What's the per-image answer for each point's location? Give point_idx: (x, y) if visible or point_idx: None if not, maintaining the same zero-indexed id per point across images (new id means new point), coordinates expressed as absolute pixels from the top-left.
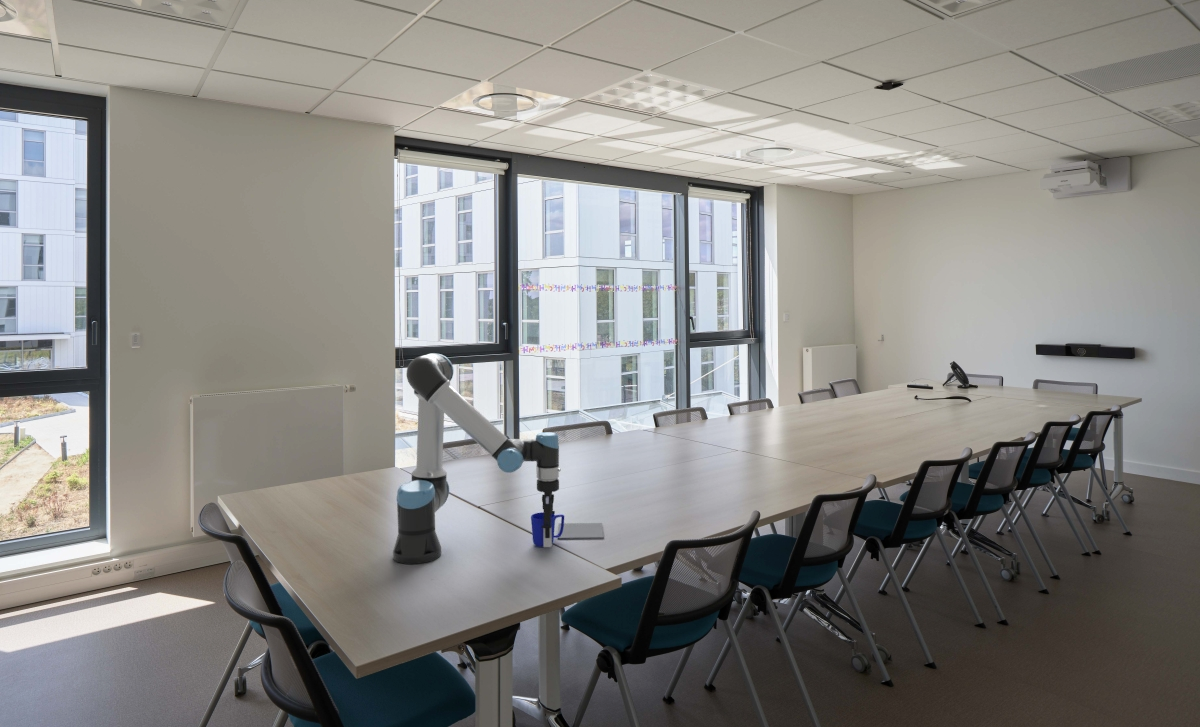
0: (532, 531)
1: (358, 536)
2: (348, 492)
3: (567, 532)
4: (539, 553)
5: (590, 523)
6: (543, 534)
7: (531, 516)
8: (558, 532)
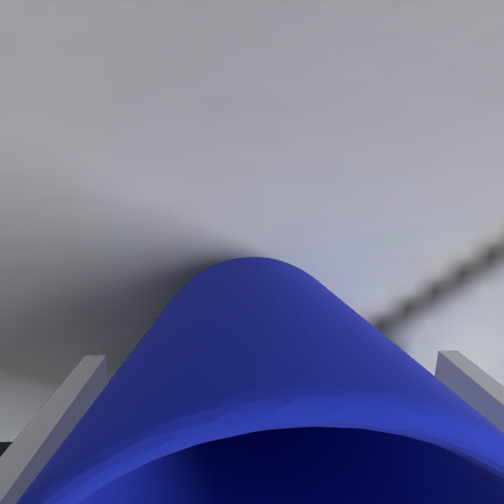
0: (217, 287)
1: None
2: None
3: None
4: (41, 310)
5: None
6: (7, 449)
7: (247, 424)
8: None
